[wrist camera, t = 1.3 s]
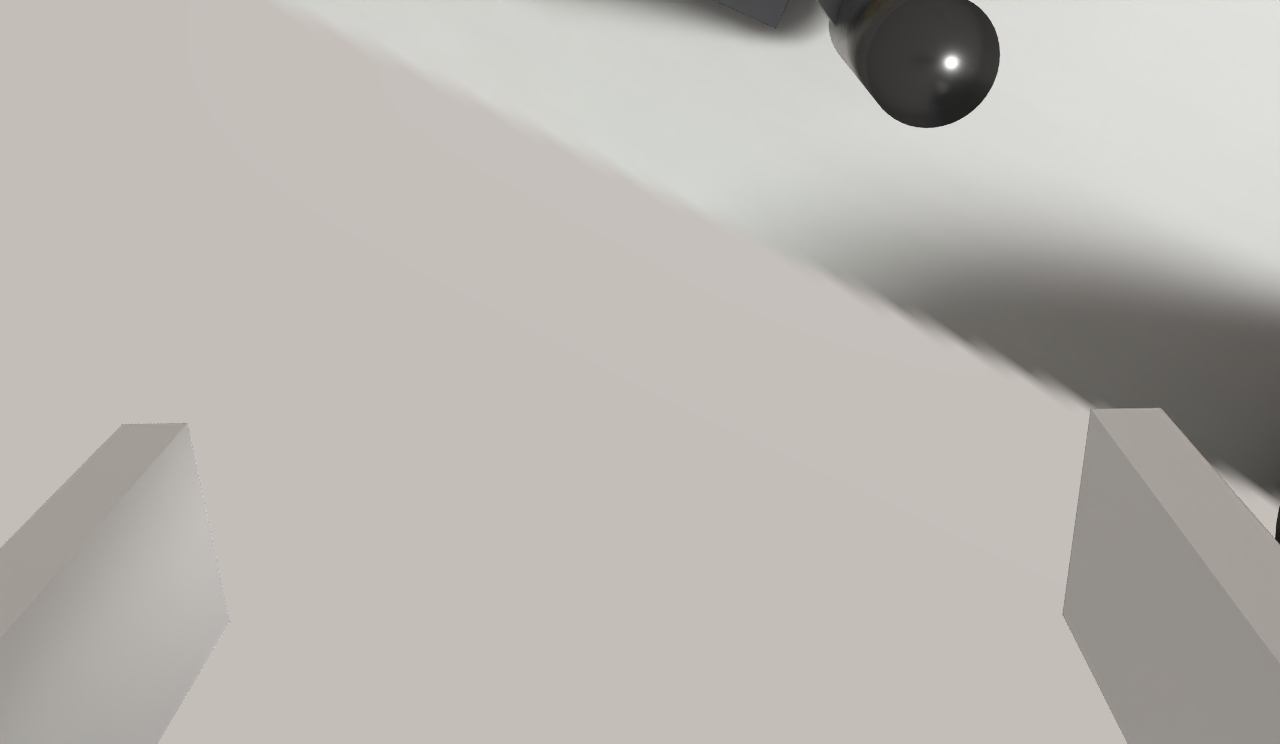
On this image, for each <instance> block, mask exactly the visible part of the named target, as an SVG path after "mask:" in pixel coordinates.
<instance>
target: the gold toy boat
mask: <svg viewBox="0 0 1280 744" xmlns="http://www.w3.org/2000/svg"><path fill="white" fill-rule="evenodd" d="M816 1H817V3H818V4H819V6H820V7H821V9H822V10H823V12H824V13H825V15H826V16H827V18H828V19H829V32H830V36H831V40H832V43H833V45H834V47H835V49H836V51H837V52H838V54H839V55H840V56H841V57H842V59H843V60H844V61H845V63H846V64H847V65H848V66H849V68H850V69H851V70H852V71H853V73H854V74H855V75H856V76H857V78H858V79H859V80H860V81H861V83H862V84H863V85H864V86H865V88H866V89H867V90H868V91H869V93H870V94H871V95H872V96H873V98H874V99H875V100H876V101H877V103H878V104H879V105H880V106H881V108H882V109H883V110H884V111H885V112H886V113H887V114H889V115H890V116H891V117H893V118H894V119H896V120H898V121H900V122H901V123H904V124H907V125H910V126H914V127H922V128H933V127H939V126H944V125H947V124H951V123H953V122H955V121H957V120H960V119H961V118H963V117H965V116H966V115H968V114H969V113H970V112H971V111H973V110H974V109H975V108H976V107H977V106H978V105H979V104H980V103H981V102H982V101H983V99H984V98H985V97H986V96H987V94H988V92H989V91H990V89H991V87H992V85H993V83H994V81H995V78H996V75H997V72H998V67H999V59H1000V49H999V42H998V37H997V34H996V31H995V28H994V26H993V25H992V23H991V21H990V19H989V18H988V17H987V15H986V14H985V13H984V12H983V11H982V10H981V9H980V8H979V7H978V6H976V5H975V4H974V3H972V2H970V1H969V0H816Z"/></svg>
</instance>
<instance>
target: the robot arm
mask: <svg viewBox="0 0 1280 744" xmlns="http://www.w3.org/2000/svg"><path fill="white" fill-rule="evenodd" d="M1063 616H1064V618H1065V620H1066V622H1067V624H1068V626H1069V628H1070V630H1071V632H1072V634H1073V636H1074V638H1075V640H1076V642H1077V644H1078V646H1079V648H1080V650H1081V652H1082V654H1083V656H1084V658H1085V660H1086V662H1087V664H1088V666H1089V668H1090V670H1091V672H1092V674H1093V676H1094V678H1095V680H1096V682H1097V684H1098V686H1099V688H1100V690H1101V692H1102V694H1103V696H1104V698H1105V700H1106V702H1107V704H1108V706H1109V708H1110V710H1111V711H1112V713H1113V716H1114V717H1115V720H1116V722H1117V724H1118V726H1119V728H1120V729H1121V731H1122V734H1123V735H1124V737H1125V739H1126V741H1127V743H1128V744H1280V507H1279V512H1278V518H1277V523H1276V537H1275V538H1274V537H1273V536H1272V535H1271V534H1270V533H1269V532H1268V530H1267V529H1266V528H1265V527H1264V526H1263V525H1262V524H1261V522H1260V521H1259V520H1258V519H1257V518H1256V517H1255V515H1253V513H1252V512H1251V511H1250V510H1249V509H1248V508H1247V506H1246V505H1245V504H1244V503H1243V502H1242V501H1241V499H1240V498H1239V497H1238V496H1237V495H1236V494H1235V492H1234V491H1233V490H1232V489H1231V488H1230V487H1229V486H1228V484H1227V483H1226V482H1225V481H1224V480H1223V479H1222V478H1221V476H1220V475H1219V474H1218V473H1217V472H1216V471H1215V469H1214V468H1213V467H1212V466H1211V465H1210V464H1209V463H1208V461H1207V460H1206V459H1205V458H1204V457H1203V456H1202V455H1201V453H1200V452H1199V451H1198V450H1197V449H1196V448H1195V446H1194V445H1193V444H1192V443H1191V442H1190V441H1189V440H1188V438H1187V437H1186V436H1185V435H1184V434H1183V433H1182V432H1181V430H1180V429H1179V428H1178V427H1177V426H1176V425H1175V424H1174V422H1173V421H1172V420H1171V419H1170V418H1169V417H1168V415H1167V414H1166V413H1165V412H1164V411H1163V410H1162V409H1161V408H1118V409H1091V411H1090V419H1089V426H1088V433H1087V440H1086V447H1085V455H1084V462H1083V469H1082V477H1081V484H1080V492H1079V499H1078V506H1077V513H1076V521H1075V528H1074V535H1073V542H1072V550H1071V557H1070V564H1069V572H1068V578H1067V586H1066V593H1065V600H1064V608H1063ZM229 622H230V620H229V615H228V610H227V606H226V601H225V596H224V592H223V587H222V583H221V578H220V573H219V568H218V564H217V559H216V554H215V549H214V545H213V540H212V535H211V531H210V526H209V521H208V517H207V512H206V507H205V503H204V498H203V493H202V488H201V484H200V479H199V475H198V470H197V465H196V460H195V456H194V452H193V447H192V442H191V437H190V432H189V428H188V424H187V423H169V424H122V425H121V426H120V427H119V428H118V429H117V430H116V431H115V432H114V433H113V434H112V435H111V436H110V437H109V438H108V439H107V440H106V441H105V442H104V443H103V444H102V445H101V446H100V448H98V450H97V451H96V452H95V453H94V454H93V455H92V456H91V457H90V458H89V459H88V460H87V461H86V462H85V463H84V464H83V465H82V466H81V467H80V468H79V469H78V470H77V471H76V472H75V473H74V474H73V475H72V476H71V477H70V478H69V479H68V480H67V481H66V482H65V483H64V484H63V485H62V486H61V487H60V488H59V489H58V490H57V491H56V492H55V493H54V494H53V495H52V496H51V497H50V498H49V499H48V500H47V501H46V502H45V503H44V505H42V507H40V508H39V509H38V510H37V511H36V512H35V513H34V515H33V516H32V517H31V518H30V519H29V520H28V521H27V522H26V523H25V524H24V525H23V526H22V527H21V528H20V529H19V530H18V531H17V532H16V533H15V534H14V535H13V536H12V537H11V538H10V539H9V540H8V541H7V542H6V543H5V544H4V545H3V546H2V547H1V548H0V744H158V742H159V740H160V739H161V737H162V735H163V734H164V732H165V730H166V729H167V727H168V725H169V723H170V722H171V720H172V718H173V717H174V715H175V713H176V712H177V710H178V708H179V707H180V705H181V703H182V701H183V700H184V698H185V696H186V695H187V693H188V691H189V690H190V688H191V686H192V685H193V683H194V681H195V679H196V678H197V676H198V674H199V673H200V671H201V669H202V668H203V666H204V664H205V662H206V661H207V659H208V657H209V656H210V654H211V652H212V651H213V649H214V647H215V646H216V644H217V642H218V640H219V639H220V637H221V635H222V634H223V632H224V630H225V629H226V627H227V625H228V623H229Z"/></svg>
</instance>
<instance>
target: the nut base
mask: <svg viewBox="0 0 1280 744" xmlns="http://www.w3.org/2000/svg"><path fill="white" fill-rule="evenodd" d="M714 1H716V2H718V3H721V4H723V5H725V6H727V7H730V8H732V9H734V10H736V11H738V12H741V13H743V14H745V15H747V16H749V17H752V18H754V19H756V20H758V21H761V22H763V23H765V24H767V25H769V26H772V27H774V28H776V27H777V25H778V23H779V21H780V19H781V16H782V14H783V12H784V10H785V8H786V5H787V3H788V1H789V0H714Z"/></svg>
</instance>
